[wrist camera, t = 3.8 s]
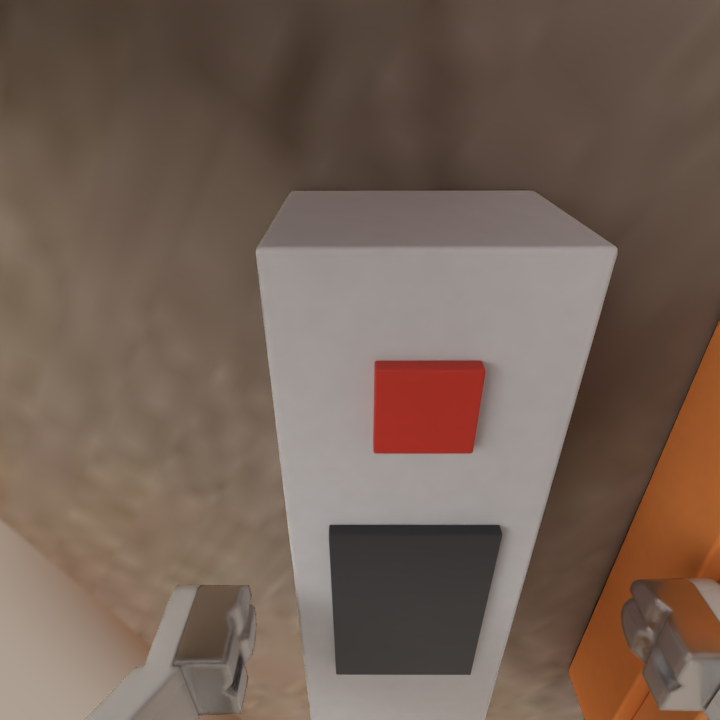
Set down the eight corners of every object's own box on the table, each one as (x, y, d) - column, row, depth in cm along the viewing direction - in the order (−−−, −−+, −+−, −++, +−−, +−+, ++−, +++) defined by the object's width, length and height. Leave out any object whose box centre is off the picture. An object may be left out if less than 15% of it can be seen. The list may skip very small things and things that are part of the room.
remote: (289, 190, 9) (248, 255, 6) (535, 189, 9) (633, 254, 6) (321, 610, 17) (310, 746, 13) (459, 610, 16) (484, 746, 13)
